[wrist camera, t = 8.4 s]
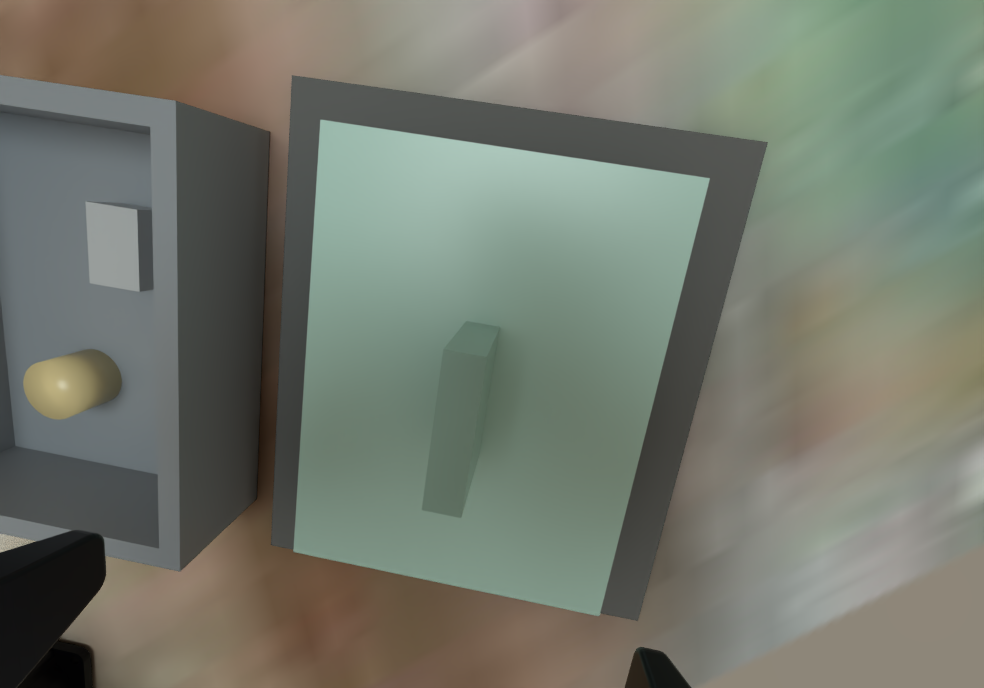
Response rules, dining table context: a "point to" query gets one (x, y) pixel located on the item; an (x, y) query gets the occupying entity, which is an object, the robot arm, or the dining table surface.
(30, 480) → the tub
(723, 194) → the mat
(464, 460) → the lid
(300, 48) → the dining table surface
